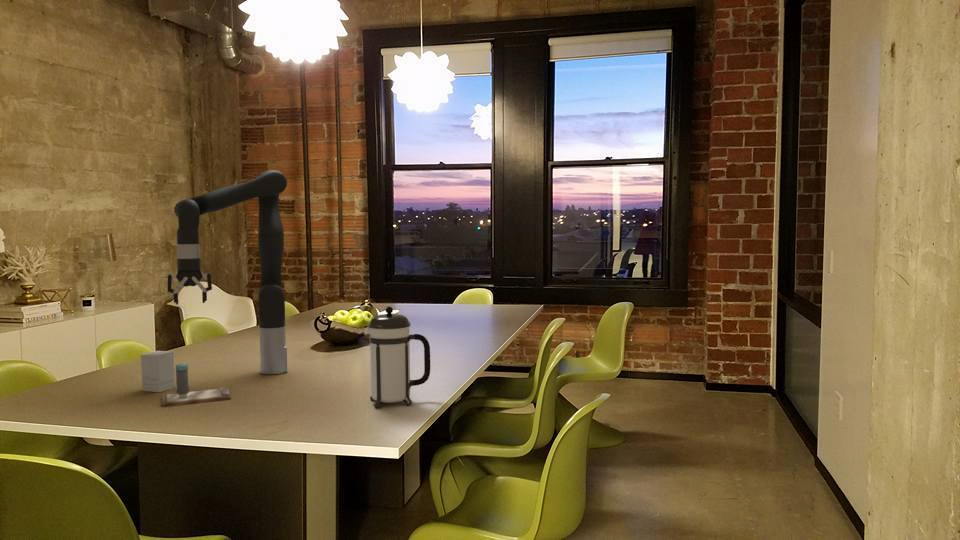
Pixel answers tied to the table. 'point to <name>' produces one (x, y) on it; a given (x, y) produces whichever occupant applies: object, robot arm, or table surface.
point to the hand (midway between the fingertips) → (190, 303)
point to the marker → (182, 380)
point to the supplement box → (157, 371)
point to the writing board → (196, 397)
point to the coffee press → (393, 358)
